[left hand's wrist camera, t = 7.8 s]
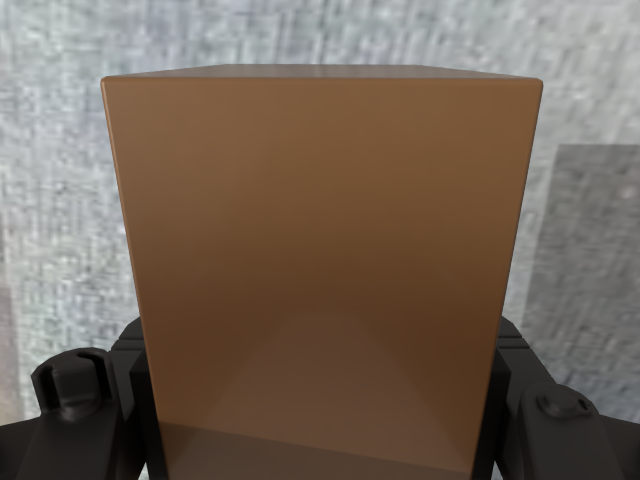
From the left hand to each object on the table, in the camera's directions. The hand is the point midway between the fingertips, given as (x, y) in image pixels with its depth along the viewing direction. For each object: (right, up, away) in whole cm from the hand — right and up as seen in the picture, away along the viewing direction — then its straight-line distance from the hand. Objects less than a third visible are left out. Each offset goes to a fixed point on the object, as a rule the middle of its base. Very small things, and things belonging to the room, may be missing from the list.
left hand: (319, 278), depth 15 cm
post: (0, -23, +10) cm, 25 cm away
